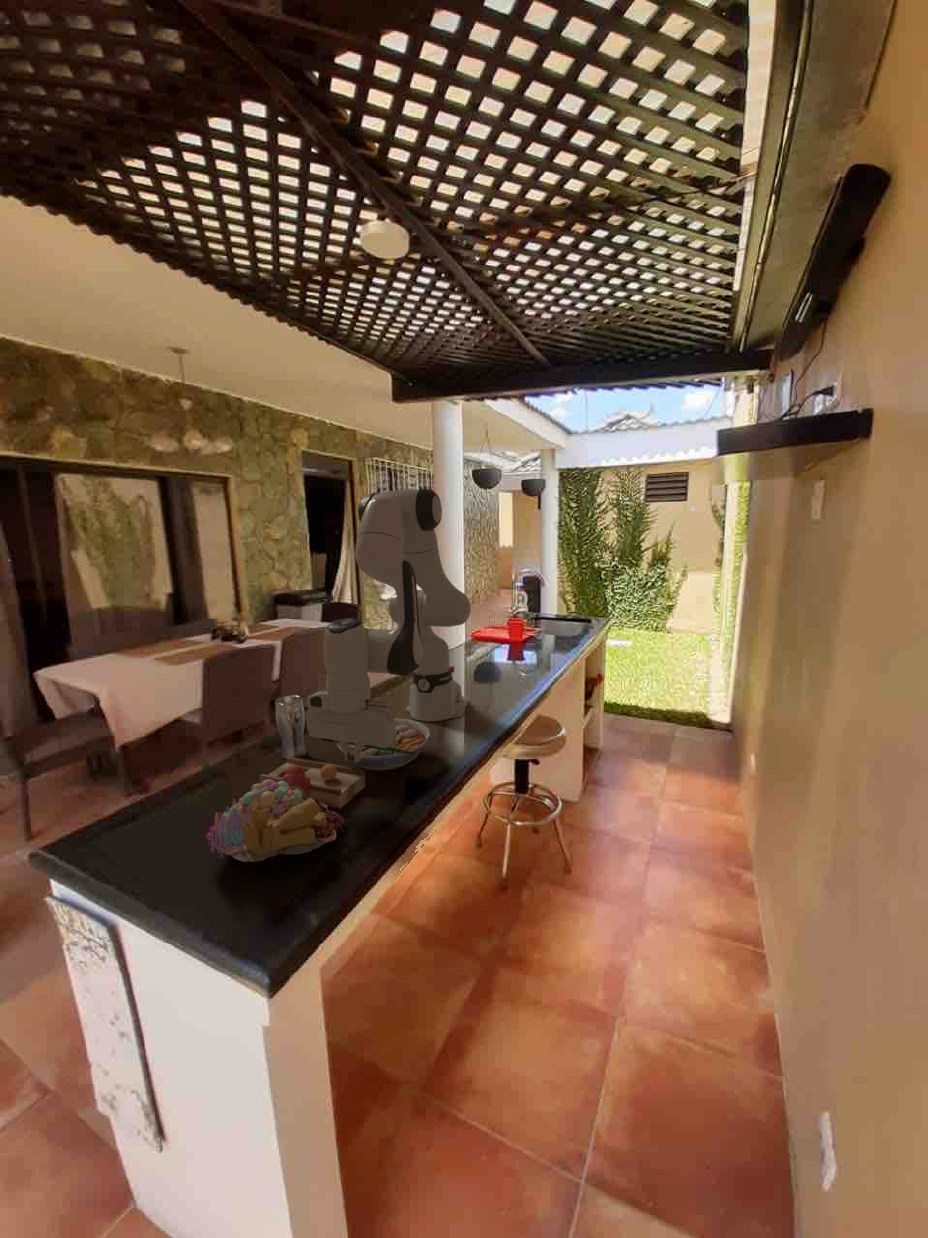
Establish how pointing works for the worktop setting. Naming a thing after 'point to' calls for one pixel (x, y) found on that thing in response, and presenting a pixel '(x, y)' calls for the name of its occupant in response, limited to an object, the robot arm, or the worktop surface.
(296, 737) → the beer glass
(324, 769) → the ball
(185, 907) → the worktop surface
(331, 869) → the worktop surface
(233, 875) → the worktop surface
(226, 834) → the pastel sphere sculpture
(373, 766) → the ramen bowl
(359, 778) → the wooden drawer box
